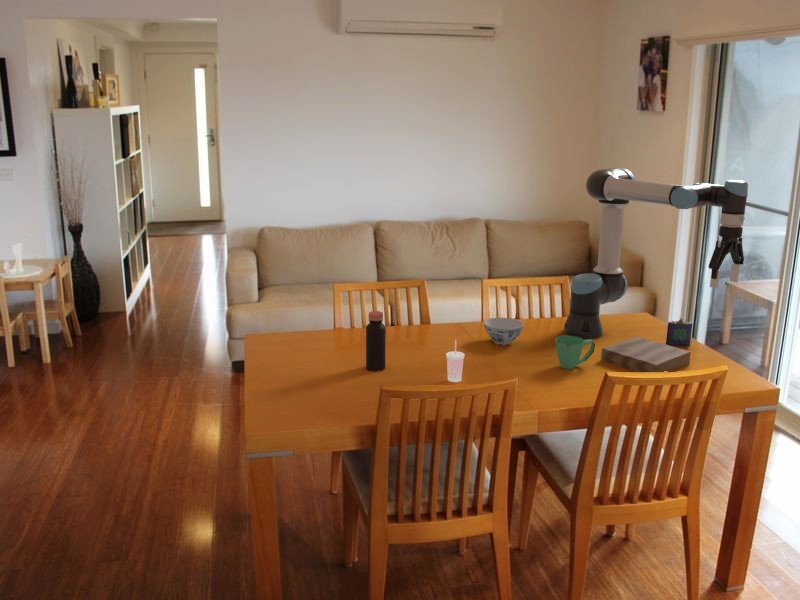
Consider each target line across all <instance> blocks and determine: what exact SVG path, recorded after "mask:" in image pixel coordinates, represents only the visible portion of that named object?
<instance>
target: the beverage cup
mask: <svg viewBox="0 0 800 600" xmlns="http://www.w3.org/2000/svg"><path fill="white" fill-rule="evenodd" d="M457 341H458V340H457V339H455V340H454V350H453V351H452V350H451V351H449V352H446V354H445V358H446V361H447V362H446V365H447V369H446V370H447V381H448V382H452V383H458V382H462V380H463V378H462V377H463V370H464V369H463V368H464V358H465V355H466V354H465V353H464V352H461V351H457Z"/></svg>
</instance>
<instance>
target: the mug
mask: <svg viewBox="0 0 800 600" xmlns="http://www.w3.org/2000/svg"><path fill="white" fill-rule="evenodd" d="M554 342H555V347H556V355H557V359H558V362H559V365H560V368H562V369H565V370H574V369H575V368H576V366H579V365H580V364H582V363H584V362H586V361H587V360H588V359H589V358H590V357H591V356H592V355H593V354H594V353H595V347H596V343H595V341H593V339H592V338H588V339H584V338H579V337H575V336H569V335H559V336H557V337H555V341H554ZM589 344H590V347H589V348H588V349H589V350H588V351H587V352H586V353H585V355H584V356H583V357H581V354H582V351H583V347H584V346H585V345H589Z"/></svg>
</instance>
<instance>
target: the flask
mask: <svg viewBox="0 0 800 600" xmlns="http://www.w3.org/2000/svg"><path fill="white" fill-rule="evenodd" d="M666 328H667V329H666V331H667V332H666V337H665V338H666V340H665V341H666V342H665V345H666V344H667V345H669V346H670V345H672V347H679V346H680V347H688V346H691V343H692V342H691V341H692V332H693V322H691V321H684V318H683V317H680V318H679V320H675V321H674V320H672V321H668V322H667V327H666Z"/></svg>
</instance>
